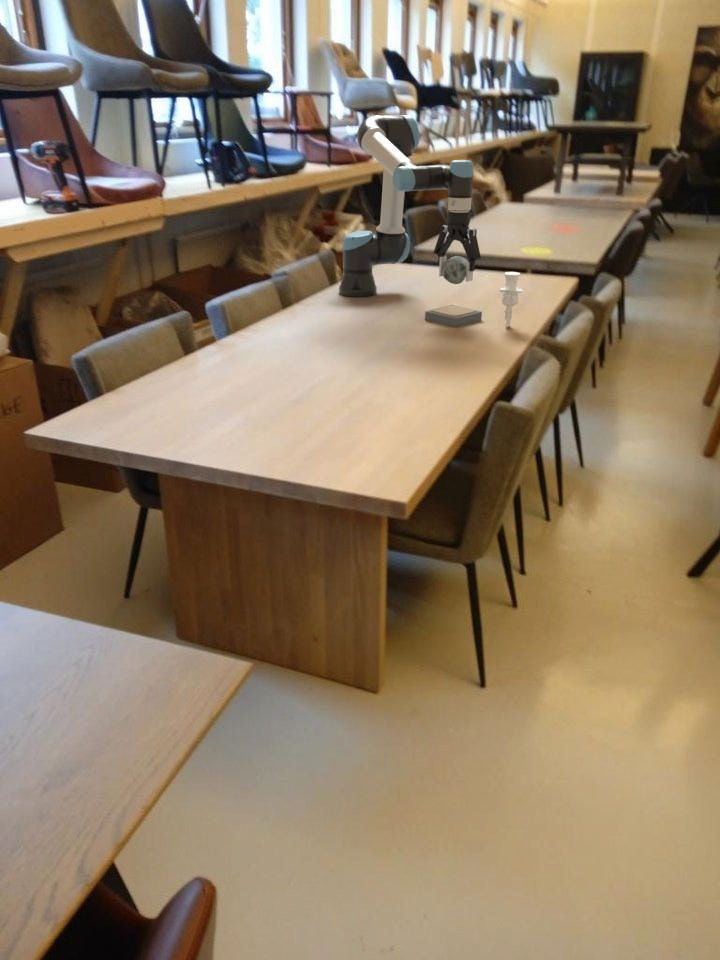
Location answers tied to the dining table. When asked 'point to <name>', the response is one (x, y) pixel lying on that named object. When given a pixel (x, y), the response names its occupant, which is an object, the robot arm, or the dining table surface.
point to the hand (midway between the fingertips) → (455, 278)
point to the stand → (453, 315)
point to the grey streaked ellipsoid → (455, 270)
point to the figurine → (510, 294)
